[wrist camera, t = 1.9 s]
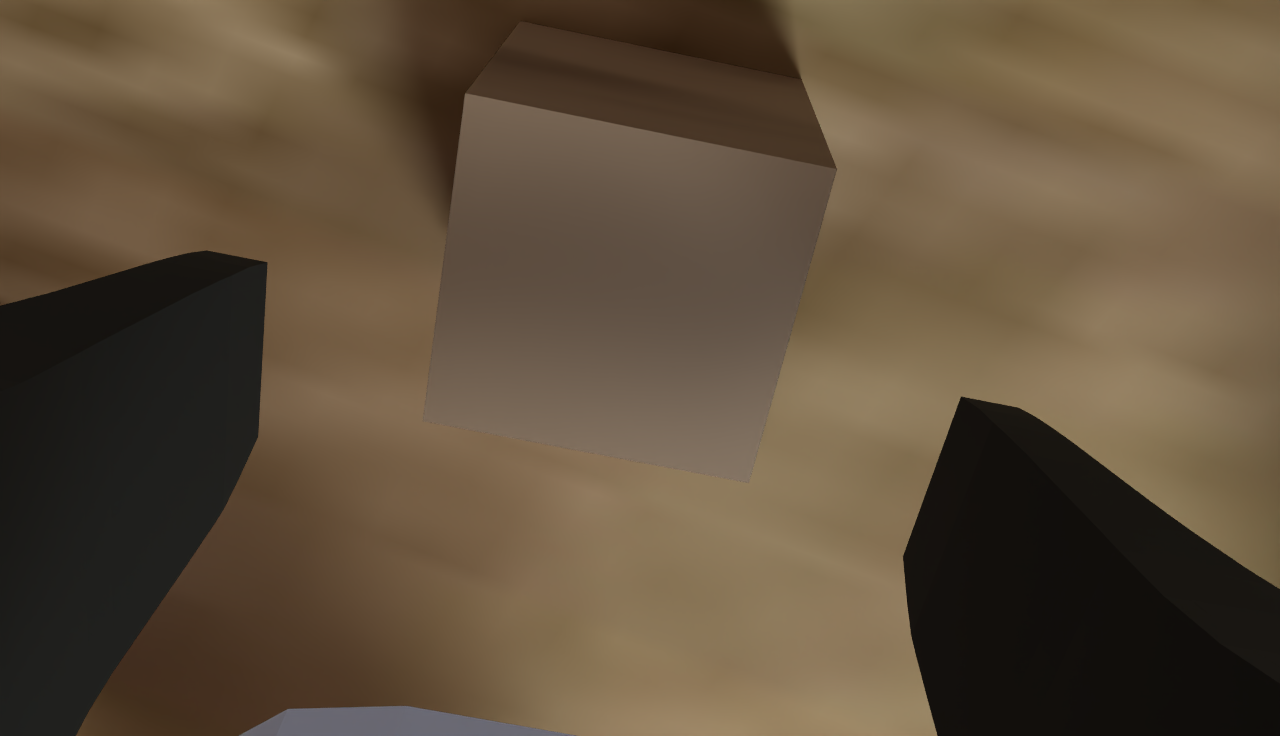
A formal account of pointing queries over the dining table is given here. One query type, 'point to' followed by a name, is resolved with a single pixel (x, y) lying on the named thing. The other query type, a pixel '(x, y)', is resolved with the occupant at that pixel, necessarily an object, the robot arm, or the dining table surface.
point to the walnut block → (625, 251)
